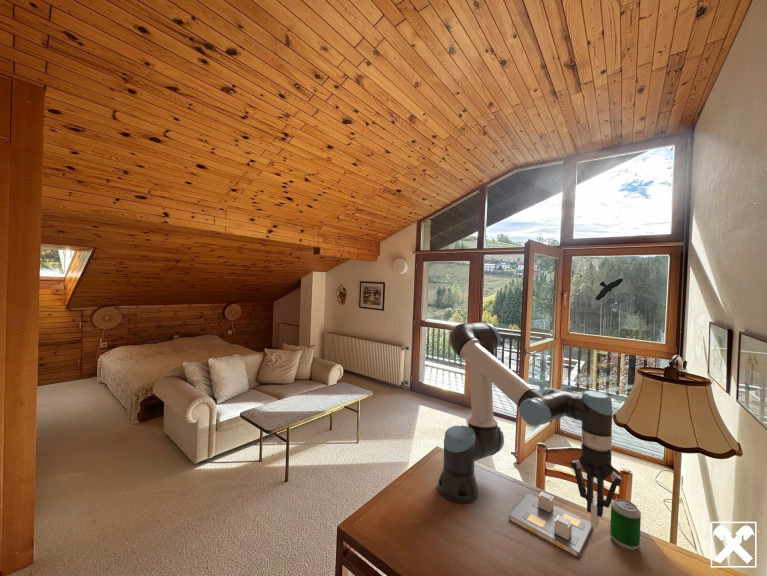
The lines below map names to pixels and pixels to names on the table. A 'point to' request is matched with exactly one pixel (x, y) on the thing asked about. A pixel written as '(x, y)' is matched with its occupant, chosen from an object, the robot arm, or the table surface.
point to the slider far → (545, 501)
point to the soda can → (625, 524)
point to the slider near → (563, 527)
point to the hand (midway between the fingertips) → (594, 524)
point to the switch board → (551, 524)
